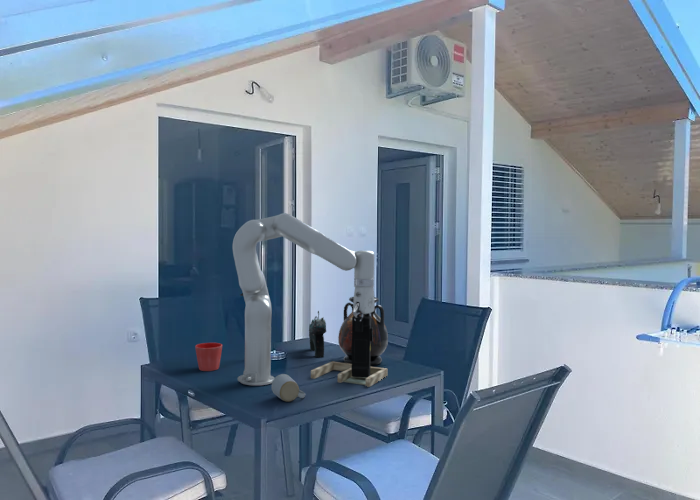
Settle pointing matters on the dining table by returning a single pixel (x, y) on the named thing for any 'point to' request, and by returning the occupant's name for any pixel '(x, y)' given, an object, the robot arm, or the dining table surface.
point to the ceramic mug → (286, 388)
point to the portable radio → (361, 348)
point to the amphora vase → (378, 334)
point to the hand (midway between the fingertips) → (362, 329)
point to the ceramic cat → (317, 336)
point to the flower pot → (208, 356)
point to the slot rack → (350, 373)
